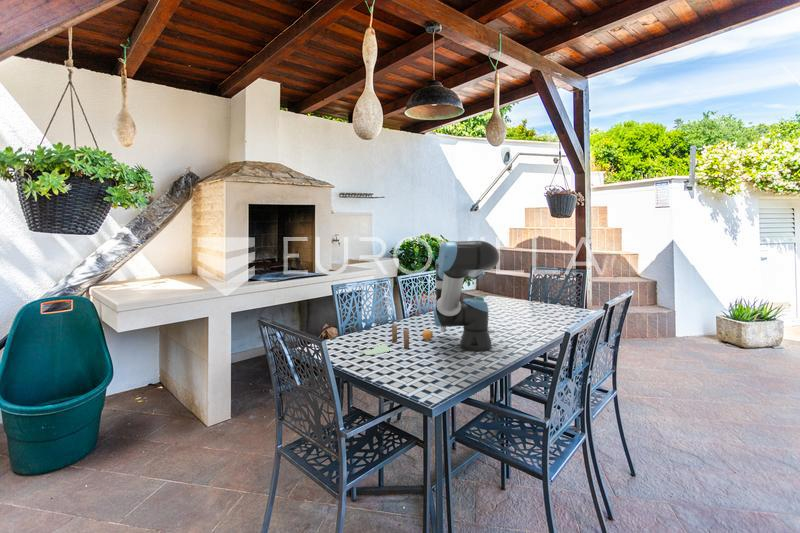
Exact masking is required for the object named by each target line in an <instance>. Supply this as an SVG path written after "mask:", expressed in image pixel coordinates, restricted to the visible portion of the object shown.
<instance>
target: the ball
mask: <svg viewBox="0 0 800 533" xmlns="http://www.w3.org/2000/svg"><path fill="white" fill-rule="evenodd" d="M421 337H422V339H424V340H425V341H431V339H433V332H432V330H431V329H425V330H423V331H422V334H421Z"/></svg>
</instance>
